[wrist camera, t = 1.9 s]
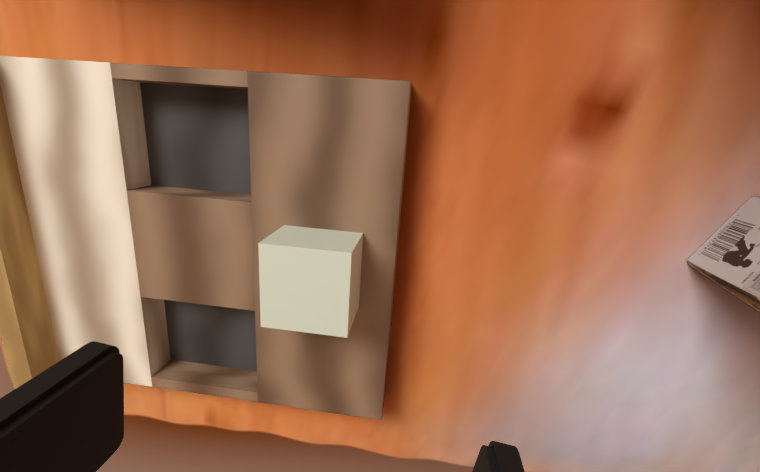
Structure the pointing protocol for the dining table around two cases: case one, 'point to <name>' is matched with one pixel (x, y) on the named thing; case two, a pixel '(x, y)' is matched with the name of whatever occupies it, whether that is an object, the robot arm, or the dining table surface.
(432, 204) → the dining table surface
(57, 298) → the box
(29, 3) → the dining table surface
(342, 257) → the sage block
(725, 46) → the dining table surface
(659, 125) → the dining table surface
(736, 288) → the coffee box
